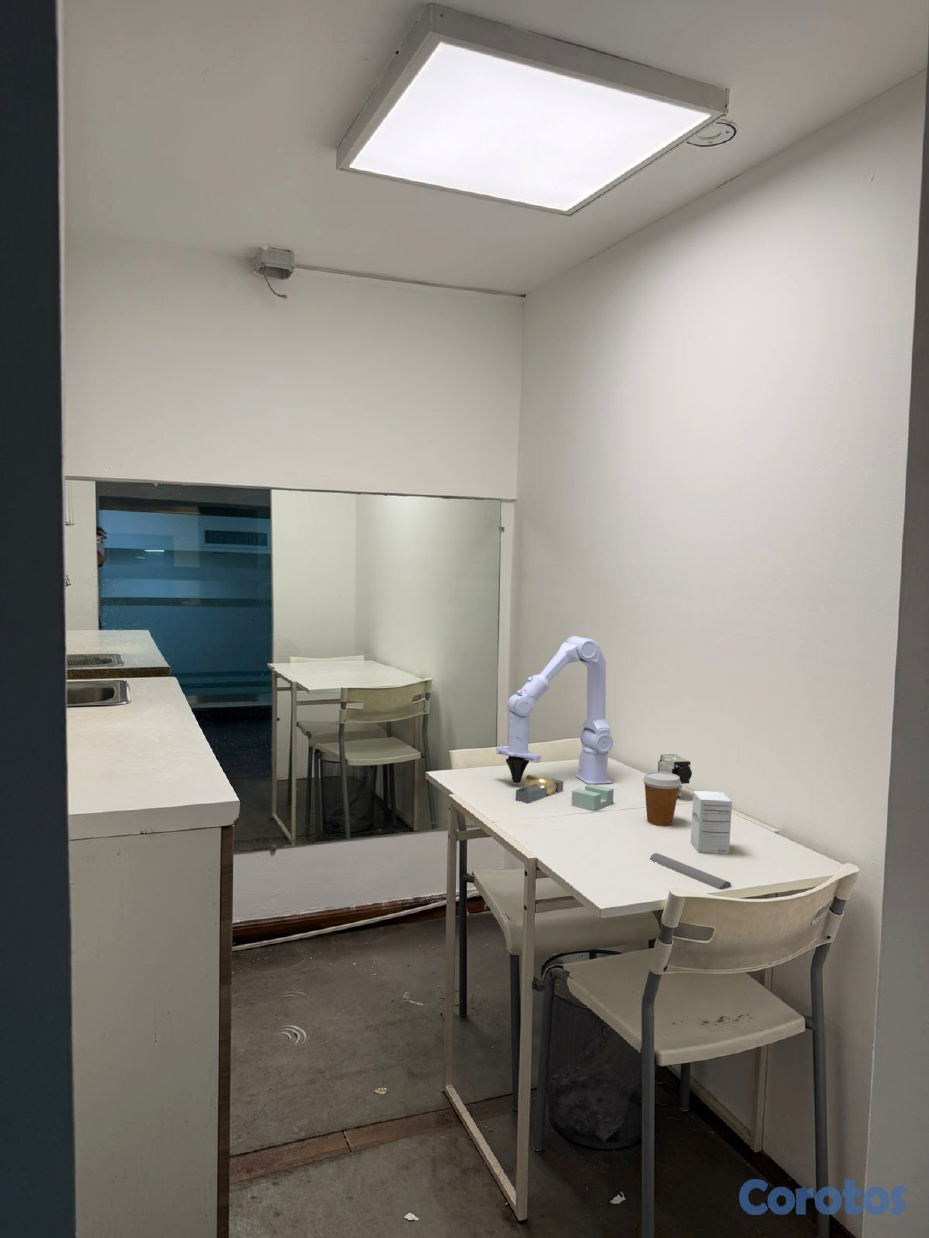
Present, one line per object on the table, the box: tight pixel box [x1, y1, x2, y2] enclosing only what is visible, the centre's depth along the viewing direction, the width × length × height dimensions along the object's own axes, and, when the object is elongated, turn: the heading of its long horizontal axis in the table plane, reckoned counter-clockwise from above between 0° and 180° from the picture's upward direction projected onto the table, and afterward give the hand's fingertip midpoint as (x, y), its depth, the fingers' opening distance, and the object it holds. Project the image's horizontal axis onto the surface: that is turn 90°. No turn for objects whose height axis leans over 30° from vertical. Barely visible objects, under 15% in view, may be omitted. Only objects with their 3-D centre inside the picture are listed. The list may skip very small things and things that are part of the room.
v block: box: [571, 784, 614, 812], centre depth 232 cm, size 7×10×4 cm
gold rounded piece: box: [523, 774, 556, 796], centre depth 242 cm, size 8×4×4 cm, turn 51°
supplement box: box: [690, 790, 733, 855], centre depth 199 cm, size 7×7×13 cm
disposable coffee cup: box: [642, 771, 682, 827], centre depth 218 cm, size 10×10×12 cm
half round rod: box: [649, 852, 732, 890], centre depth 184 cm, size 4×20×2 cm, turn 35°
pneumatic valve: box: [657, 753, 693, 798], centre depth 243 cm, size 6×12×12 cm, turn 14°
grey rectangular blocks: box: [515, 778, 564, 804], centre depth 239 cm, size 4×18×3 cm, turn 141°
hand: (516, 782), depth 248 cm, fingers closed
